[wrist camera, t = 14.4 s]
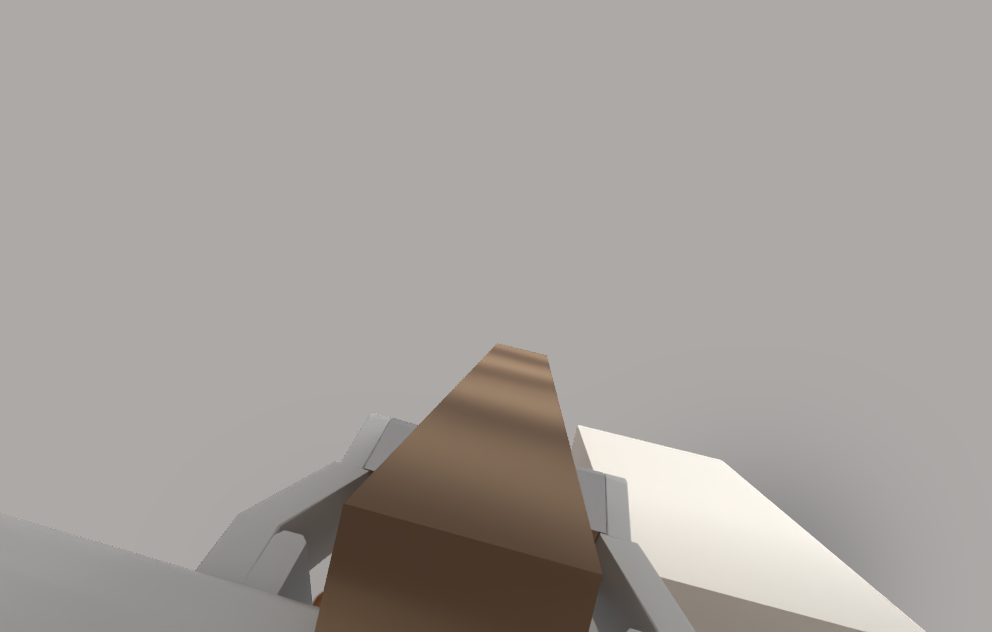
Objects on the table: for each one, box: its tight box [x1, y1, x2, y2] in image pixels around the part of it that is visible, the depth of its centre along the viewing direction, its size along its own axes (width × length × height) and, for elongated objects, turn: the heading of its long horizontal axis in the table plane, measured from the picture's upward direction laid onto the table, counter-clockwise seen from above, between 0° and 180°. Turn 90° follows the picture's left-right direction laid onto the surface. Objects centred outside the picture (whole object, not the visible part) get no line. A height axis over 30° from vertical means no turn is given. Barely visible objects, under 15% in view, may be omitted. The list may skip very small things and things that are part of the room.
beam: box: [315, 344, 603, 632], centre depth 18 cm, size 24×3×3 cm, turn 175°
